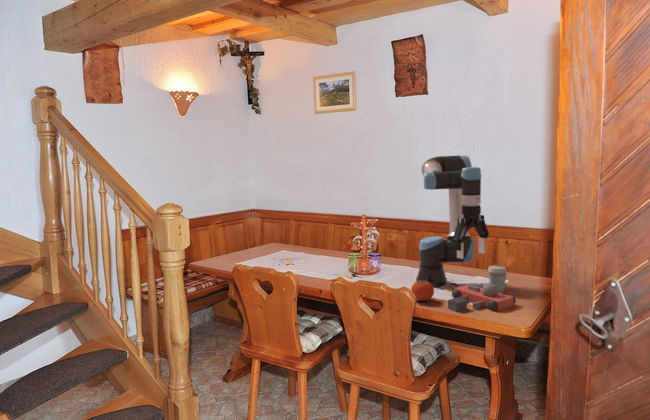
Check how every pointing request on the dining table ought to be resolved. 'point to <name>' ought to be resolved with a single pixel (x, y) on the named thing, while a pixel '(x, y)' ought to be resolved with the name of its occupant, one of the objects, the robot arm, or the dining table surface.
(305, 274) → the dining table surface
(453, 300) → the grey cube
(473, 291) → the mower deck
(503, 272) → the coffee cup
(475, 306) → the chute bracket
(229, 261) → the dining table surface
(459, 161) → the robot arm
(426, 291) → the tomato
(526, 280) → the dining table surface
